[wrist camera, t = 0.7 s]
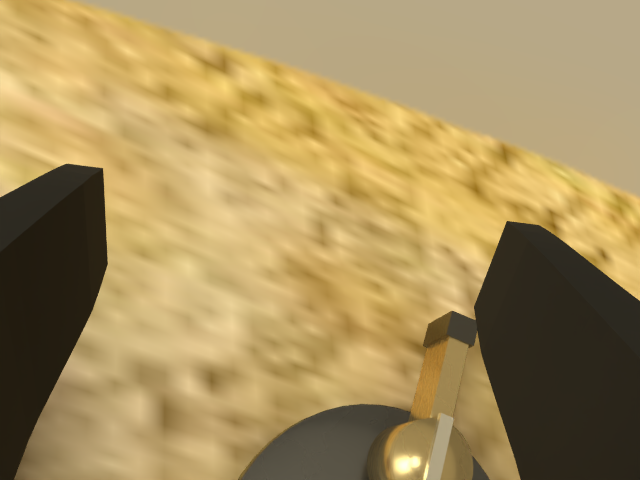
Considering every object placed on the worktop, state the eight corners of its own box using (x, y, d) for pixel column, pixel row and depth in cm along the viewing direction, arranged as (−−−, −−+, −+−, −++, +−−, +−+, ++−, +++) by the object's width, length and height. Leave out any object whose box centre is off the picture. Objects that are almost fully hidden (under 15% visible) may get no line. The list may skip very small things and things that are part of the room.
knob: (429, 519, 28) (466, 524, 25) (357, 492, 27) (385, 492, 24) (469, 344, 31) (505, 328, 28) (405, 317, 31) (435, 298, 28)
